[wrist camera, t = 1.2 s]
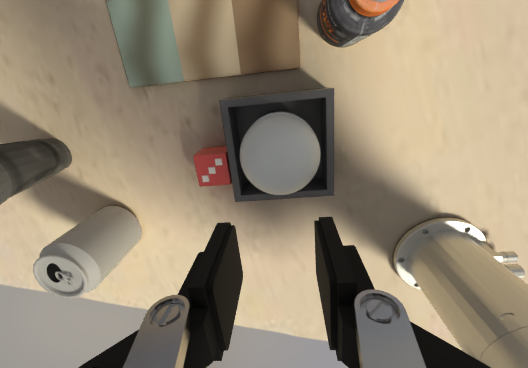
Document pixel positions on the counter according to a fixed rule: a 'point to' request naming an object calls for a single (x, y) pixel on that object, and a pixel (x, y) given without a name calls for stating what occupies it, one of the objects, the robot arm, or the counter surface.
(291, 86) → the counter surface
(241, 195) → the box
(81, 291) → the can
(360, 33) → the pill bottle
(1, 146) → the beverage cup
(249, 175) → the dome
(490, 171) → the counter surface
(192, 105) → the counter surface
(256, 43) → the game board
